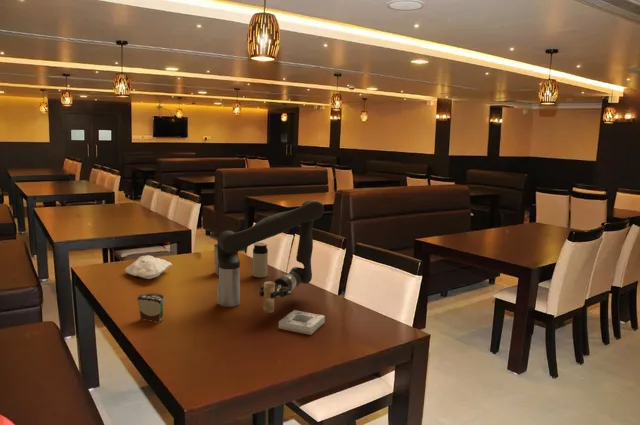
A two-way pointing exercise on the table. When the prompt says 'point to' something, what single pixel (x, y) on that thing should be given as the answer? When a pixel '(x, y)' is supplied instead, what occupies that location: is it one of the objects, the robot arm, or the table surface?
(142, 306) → the food container
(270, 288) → the peg
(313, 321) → the beige flat square frame
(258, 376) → the table surface
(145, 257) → the crumpled cloth
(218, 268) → the coffee box
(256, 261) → the travel mug
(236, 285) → the robot arm
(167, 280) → the table surface
